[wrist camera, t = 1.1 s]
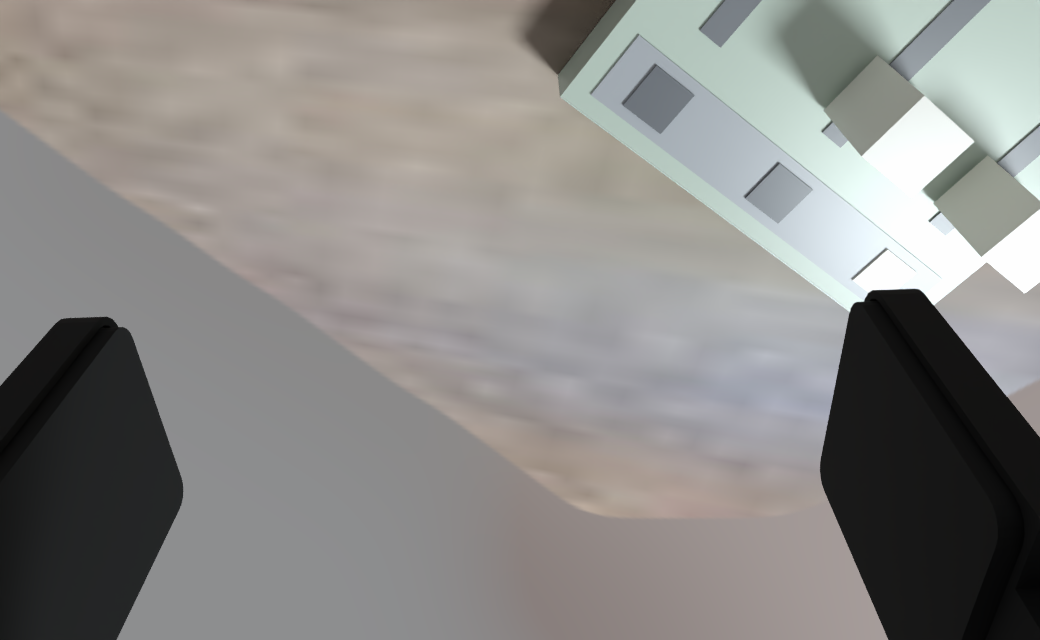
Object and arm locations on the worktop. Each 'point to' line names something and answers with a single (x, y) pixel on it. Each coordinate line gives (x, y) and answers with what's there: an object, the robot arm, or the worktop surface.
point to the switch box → (815, 120)
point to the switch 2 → (997, 221)
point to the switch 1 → (896, 127)
